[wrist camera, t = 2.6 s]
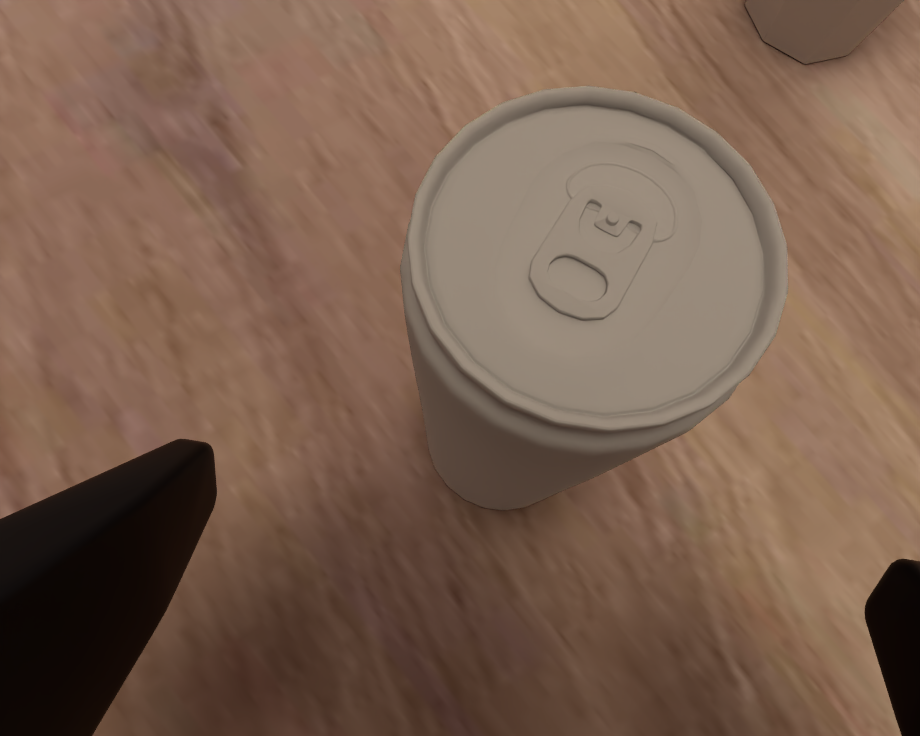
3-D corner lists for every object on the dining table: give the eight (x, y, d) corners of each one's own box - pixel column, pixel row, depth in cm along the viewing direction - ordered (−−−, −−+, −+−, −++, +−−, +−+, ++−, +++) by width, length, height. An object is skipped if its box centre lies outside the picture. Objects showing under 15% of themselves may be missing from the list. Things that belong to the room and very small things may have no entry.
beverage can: (607, 407, 19) (860, 184, 7) (533, 543, 18) (701, 530, 6) (475, 332, 20) (520, 19, 8) (395, 459, 18) (313, 304, 7)
